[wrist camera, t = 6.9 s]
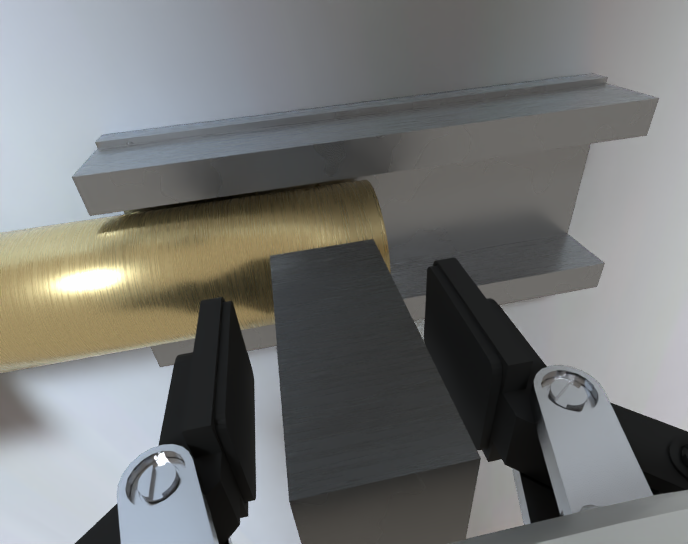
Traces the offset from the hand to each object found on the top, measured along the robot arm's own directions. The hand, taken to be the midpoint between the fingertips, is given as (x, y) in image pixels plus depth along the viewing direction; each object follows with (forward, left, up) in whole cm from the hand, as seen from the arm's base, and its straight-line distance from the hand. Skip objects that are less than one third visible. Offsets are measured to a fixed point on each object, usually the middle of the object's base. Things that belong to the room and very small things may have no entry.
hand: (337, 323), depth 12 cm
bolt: (0, -8, -7) cm, 11 cm away
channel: (0, +3, -7) cm, 7 cm away
